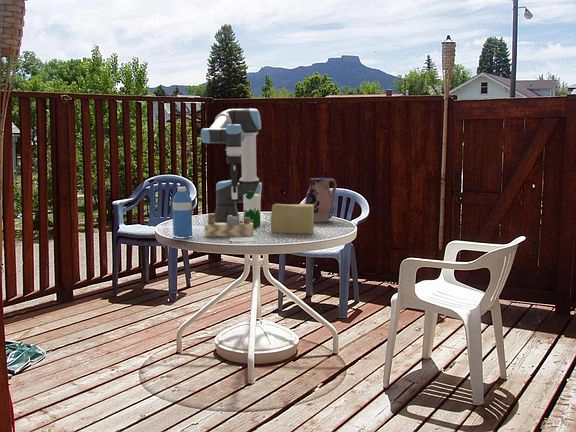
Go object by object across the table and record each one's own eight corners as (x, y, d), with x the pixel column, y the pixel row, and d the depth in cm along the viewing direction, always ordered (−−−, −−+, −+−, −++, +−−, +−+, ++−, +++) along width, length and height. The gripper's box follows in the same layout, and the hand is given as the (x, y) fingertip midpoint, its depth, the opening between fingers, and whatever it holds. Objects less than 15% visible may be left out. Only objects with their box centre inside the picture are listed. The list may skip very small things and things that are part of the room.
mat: (230, 242, 299) (230, 241, 299) (230, 237, 311) (230, 237, 311) (255, 242, 301) (255, 241, 300) (254, 237, 312) (254, 236, 312)
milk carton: (241, 227, 342) (241, 191, 339) (248, 225, 350) (247, 189, 348) (256, 228, 339) (256, 191, 336) (262, 226, 348) (262, 190, 345)
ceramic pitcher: (297, 221, 365) (298, 178, 361) (321, 217, 380) (321, 176, 377) (321, 224, 353) (321, 180, 350) (344, 220, 368) (344, 178, 365)
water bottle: (174, 235, 318) (173, 186, 314) (192, 235, 319) (191, 186, 315) (172, 238, 309) (171, 188, 305) (191, 238, 309) (190, 188, 306)
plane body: (205, 236, 314) (204, 215, 313) (205, 234, 320) (205, 213, 319) (253, 236, 317) (253, 214, 315) (252, 234, 322) (252, 212, 321)
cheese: (269, 234, 323) (269, 205, 321) (272, 230, 333) (272, 202, 331) (312, 234, 321) (312, 205, 319) (313, 231, 331) (314, 203, 329)
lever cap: (227, 225, 313) (227, 216, 312) (227, 222, 322) (227, 214, 322) (239, 225, 313) (239, 216, 313) (239, 222, 323) (239, 213, 322)
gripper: (226, 154, 325) (226, 195, 328) (226, 156, 301) (227, 200, 304) (240, 154, 326) (241, 195, 329) (242, 156, 302) (242, 200, 304)
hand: (234, 197), depth 316 cm, fingers open, 13 cm apart
